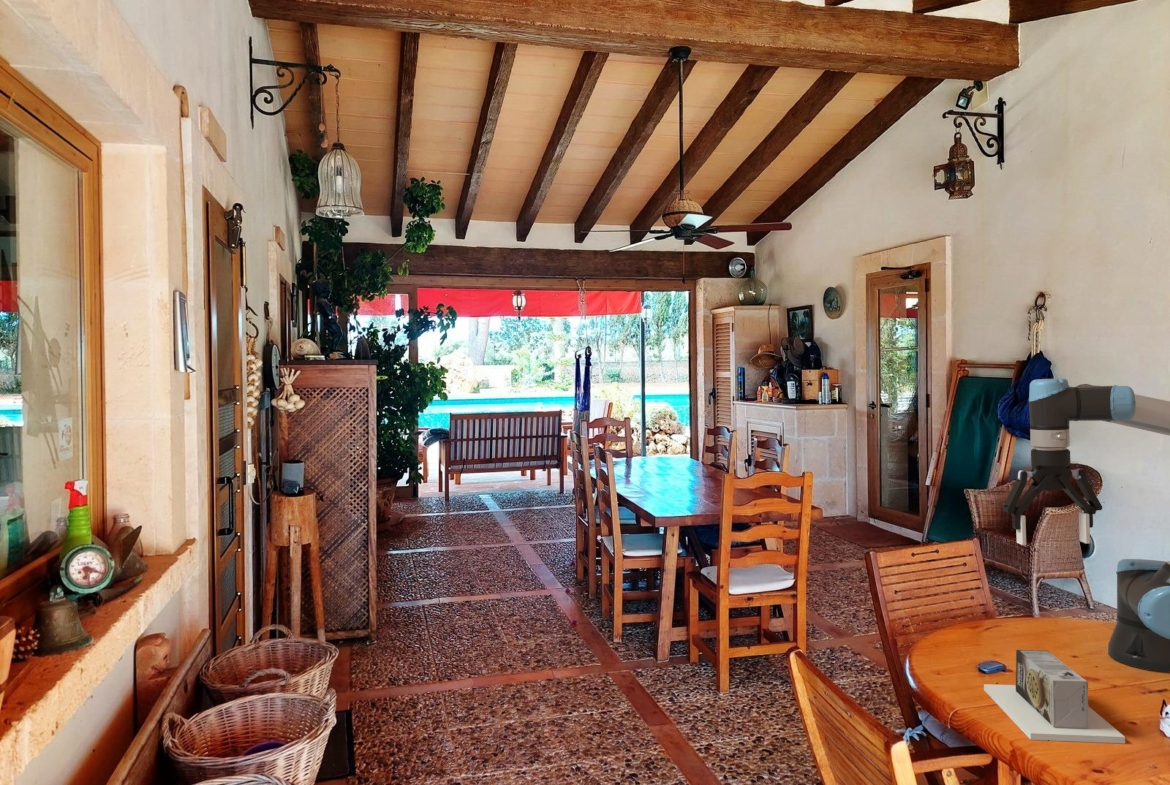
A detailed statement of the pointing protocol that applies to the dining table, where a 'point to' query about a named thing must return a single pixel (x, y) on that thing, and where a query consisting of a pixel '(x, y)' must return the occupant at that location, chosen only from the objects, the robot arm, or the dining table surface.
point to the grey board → (1041, 728)
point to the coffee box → (1052, 688)
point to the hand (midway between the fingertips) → (1052, 543)
